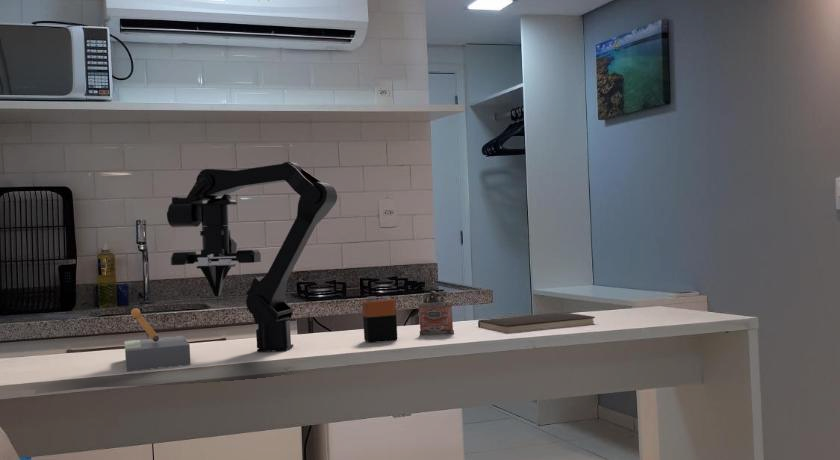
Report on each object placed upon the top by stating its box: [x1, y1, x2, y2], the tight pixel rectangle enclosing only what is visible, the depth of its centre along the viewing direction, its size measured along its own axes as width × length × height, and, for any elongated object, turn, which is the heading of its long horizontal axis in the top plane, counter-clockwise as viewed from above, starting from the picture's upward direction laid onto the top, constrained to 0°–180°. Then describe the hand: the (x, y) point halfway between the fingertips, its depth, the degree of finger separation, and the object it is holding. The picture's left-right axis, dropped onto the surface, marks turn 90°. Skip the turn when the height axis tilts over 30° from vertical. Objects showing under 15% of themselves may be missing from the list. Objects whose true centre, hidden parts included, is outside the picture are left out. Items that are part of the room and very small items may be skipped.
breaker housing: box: [124, 335, 191, 372], centre depth 166 cm, size 12×18×4 cm, turn 21°
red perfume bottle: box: [417, 290, 455, 336], centre depth 186 cm, size 8×3×10 cm, turn 76°
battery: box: [361, 295, 398, 344], centre depth 180 cm, size 4×7×10 cm, turn 108°
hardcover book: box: [477, 311, 596, 334], centre depth 192 cm, size 16×23×2 cm
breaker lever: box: [130, 307, 160, 342], centre depth 165 cm, size 2×4×8 cm
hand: (217, 296), depth 178 cm, fingers closed
